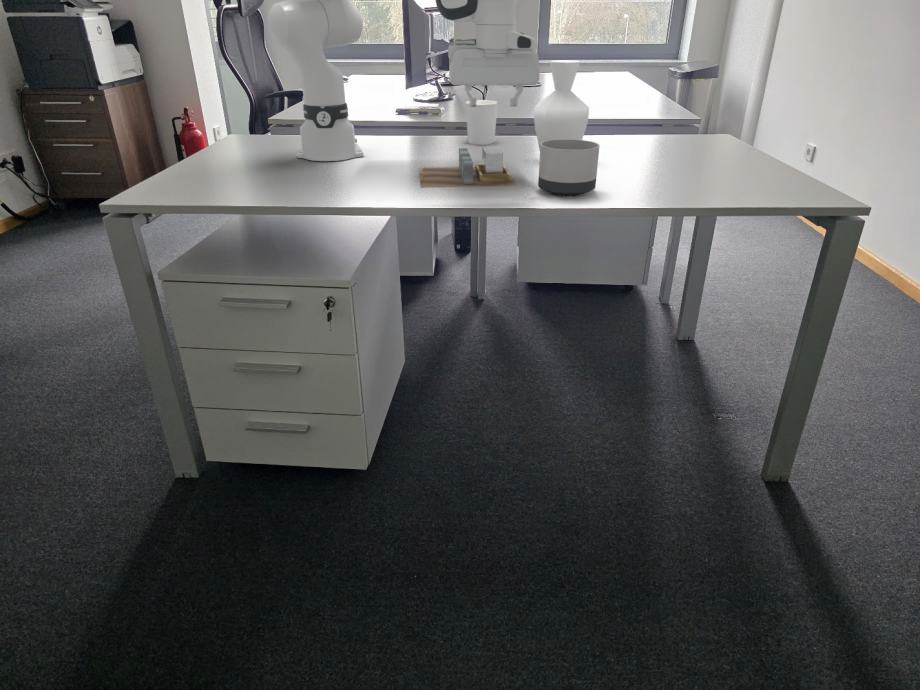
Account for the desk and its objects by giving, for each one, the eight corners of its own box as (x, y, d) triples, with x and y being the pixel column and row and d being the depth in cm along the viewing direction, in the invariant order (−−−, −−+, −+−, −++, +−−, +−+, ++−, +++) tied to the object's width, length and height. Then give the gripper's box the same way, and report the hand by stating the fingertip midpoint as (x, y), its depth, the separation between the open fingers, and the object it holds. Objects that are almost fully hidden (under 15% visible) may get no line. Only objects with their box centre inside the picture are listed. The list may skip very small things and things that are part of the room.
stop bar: (485, 179, 145) (486, 153, 142) (482, 171, 152) (482, 146, 149) (502, 179, 145) (503, 153, 142) (498, 171, 152) (498, 146, 149)
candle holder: (467, 139, 198) (467, 99, 192) (498, 140, 197) (499, 100, 191) (463, 145, 189) (463, 103, 184) (495, 146, 188) (496, 104, 182)
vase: (534, 155, 175) (539, 59, 163) (584, 157, 173) (593, 59, 161) (529, 166, 163) (534, 63, 151) (583, 168, 160) (592, 63, 149)
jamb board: (419, 172, 157) (418, 147, 154) (504, 170, 158) (505, 146, 155) (420, 192, 139) (419, 164, 136) (516, 190, 140) (517, 162, 138)
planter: (556, 202, 132) (560, 152, 127) (527, 188, 142) (529, 141, 137) (606, 195, 137) (611, 147, 132) (574, 183, 147) (578, 137, 142)
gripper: (448, 39, 131) (448, 108, 138) (543, 40, 132) (538, 108, 139) (447, 38, 136) (447, 104, 143) (537, 38, 138) (533, 104, 145)
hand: (493, 106), depth 141 cm, fingers open, 8 cm apart
